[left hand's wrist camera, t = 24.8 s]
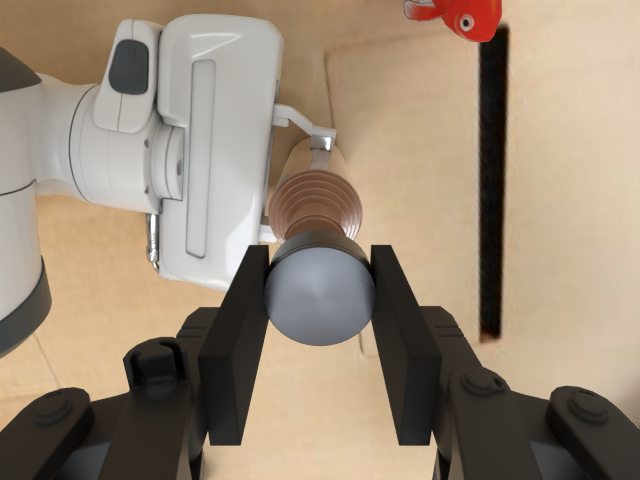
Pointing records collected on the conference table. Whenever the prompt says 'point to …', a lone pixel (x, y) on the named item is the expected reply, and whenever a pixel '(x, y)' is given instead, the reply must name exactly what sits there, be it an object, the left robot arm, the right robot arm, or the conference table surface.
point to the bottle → (314, 195)
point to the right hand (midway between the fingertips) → (327, 183)
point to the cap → (320, 288)
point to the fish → (460, 16)
